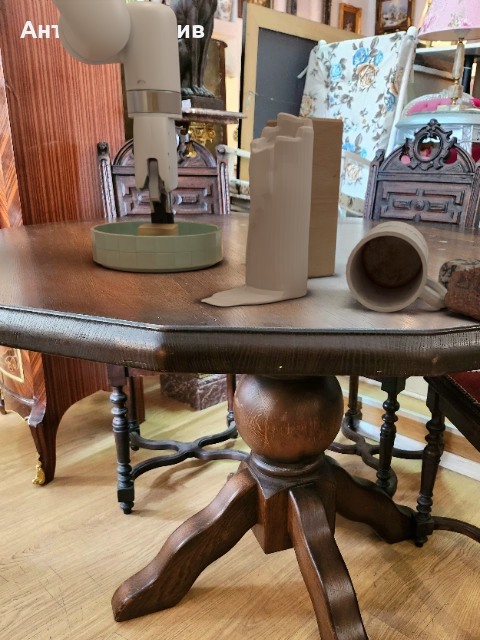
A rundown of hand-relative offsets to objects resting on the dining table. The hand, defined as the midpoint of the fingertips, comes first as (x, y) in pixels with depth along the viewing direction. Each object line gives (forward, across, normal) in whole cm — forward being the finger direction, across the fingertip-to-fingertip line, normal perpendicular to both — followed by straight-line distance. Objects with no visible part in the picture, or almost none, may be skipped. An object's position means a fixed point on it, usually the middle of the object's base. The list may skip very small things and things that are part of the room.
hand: (164, 239), depth 86 cm
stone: (+3, +29, +38) cm, 48 cm away
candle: (+3, +24, +14) cm, 28 cm away
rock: (+3, +22, +46) cm, 51 cm away
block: (+2, +5, 0) cm, 5 cm away
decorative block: (+4, +7, +20) cm, 22 cm away
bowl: (+3, +2, 0) cm, 4 cm away
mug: (0, +21, +32) cm, 39 cm away
